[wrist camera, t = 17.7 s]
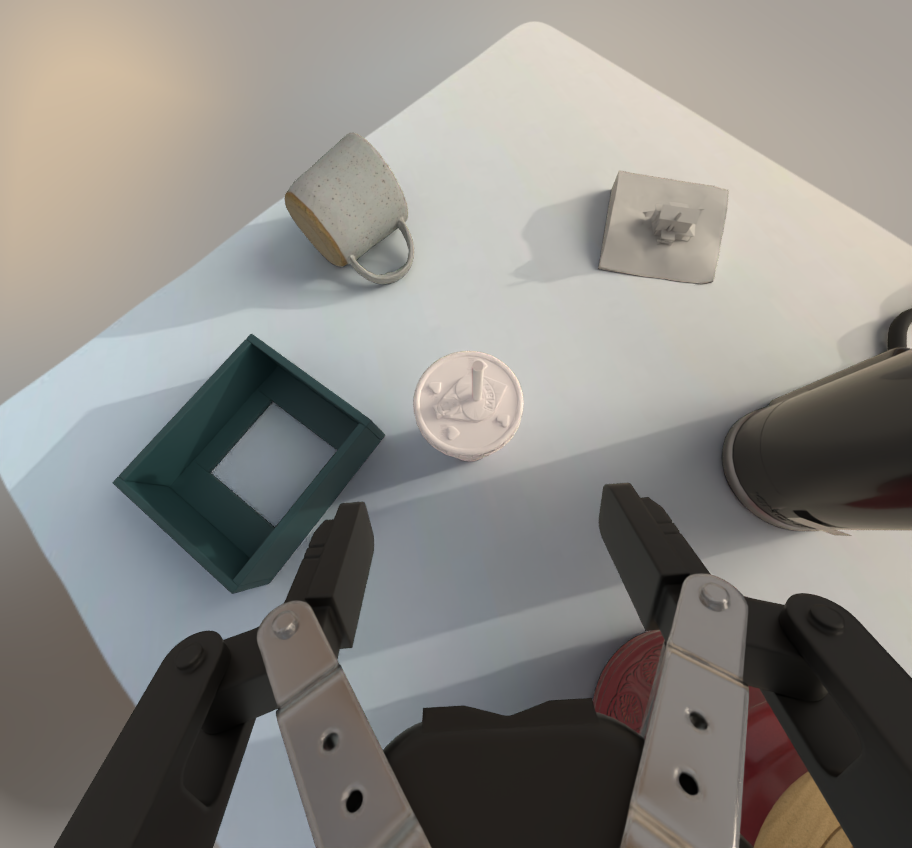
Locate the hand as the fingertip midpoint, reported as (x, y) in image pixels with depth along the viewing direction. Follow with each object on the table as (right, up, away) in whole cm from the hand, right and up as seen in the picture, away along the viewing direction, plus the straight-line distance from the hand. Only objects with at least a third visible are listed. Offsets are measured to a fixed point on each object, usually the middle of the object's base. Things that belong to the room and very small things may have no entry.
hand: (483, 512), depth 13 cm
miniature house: (+18, +21, +22) cm, 35 cm away
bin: (-16, 0, +18) cm, 24 cm away
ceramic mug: (-9, +20, +24) cm, 32 cm away
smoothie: (0, +2, +18) cm, 18 cm away
